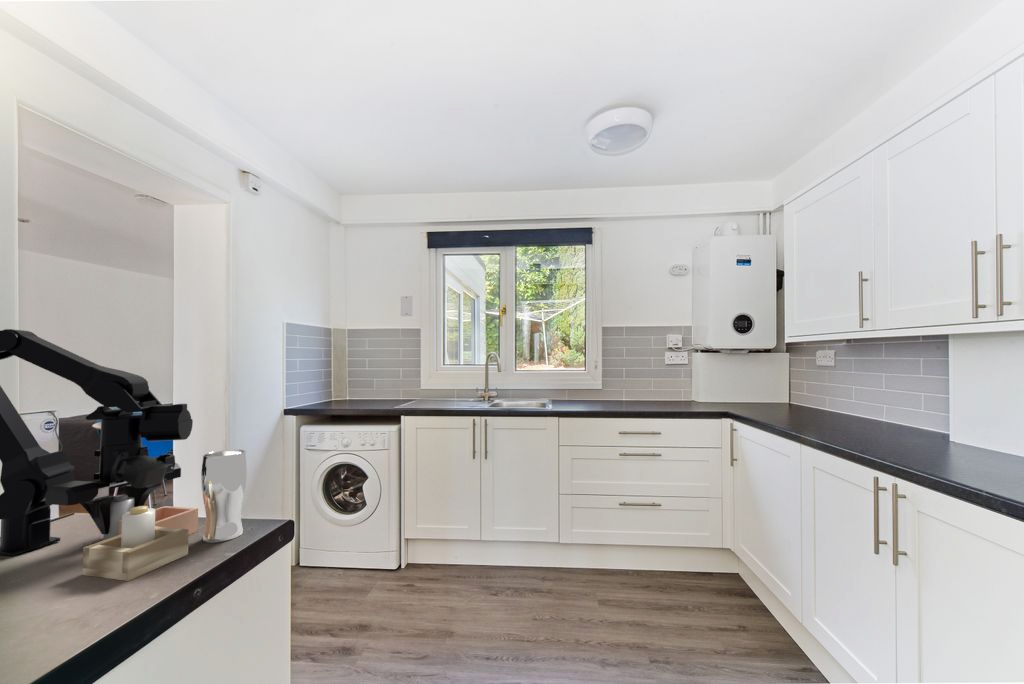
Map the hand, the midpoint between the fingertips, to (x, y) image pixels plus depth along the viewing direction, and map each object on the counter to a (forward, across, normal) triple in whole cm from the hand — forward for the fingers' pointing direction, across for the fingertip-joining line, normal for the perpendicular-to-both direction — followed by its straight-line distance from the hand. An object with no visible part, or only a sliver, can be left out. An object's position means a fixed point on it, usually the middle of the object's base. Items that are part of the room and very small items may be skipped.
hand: (119, 529), depth 79 cm
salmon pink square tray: (+2, +2, -8) cm, 8 cm away
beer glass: (+2, +4, -18) cm, 19 cm away
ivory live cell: (0, -8, -15) cm, 17 cm away
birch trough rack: (+2, -8, -15) cm, 17 cm away
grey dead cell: (+2, 0, 0) cm, 2 cm away
